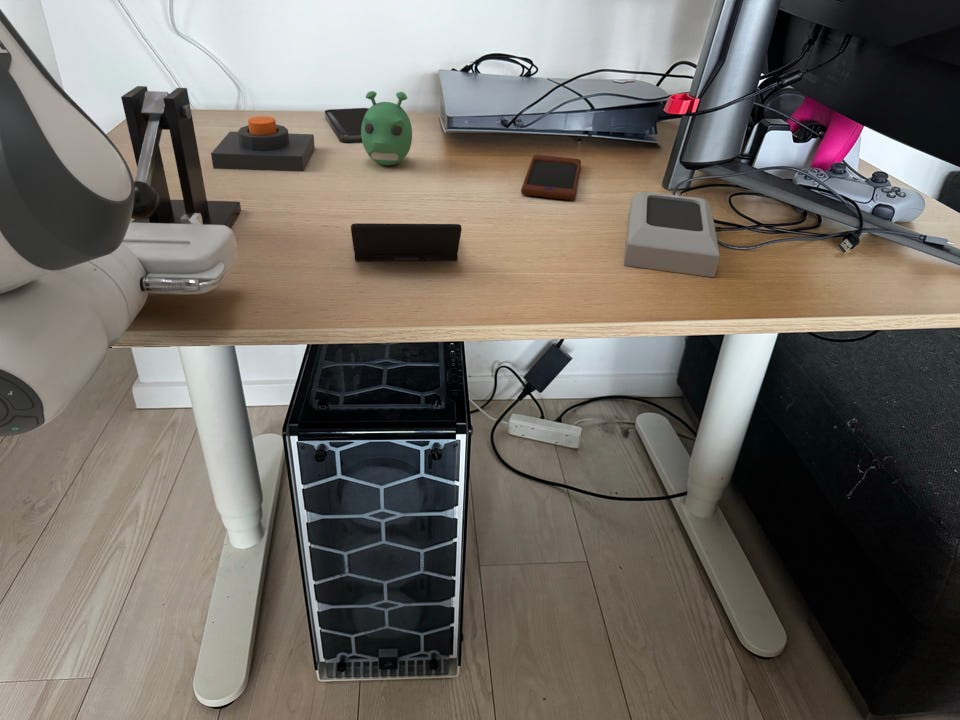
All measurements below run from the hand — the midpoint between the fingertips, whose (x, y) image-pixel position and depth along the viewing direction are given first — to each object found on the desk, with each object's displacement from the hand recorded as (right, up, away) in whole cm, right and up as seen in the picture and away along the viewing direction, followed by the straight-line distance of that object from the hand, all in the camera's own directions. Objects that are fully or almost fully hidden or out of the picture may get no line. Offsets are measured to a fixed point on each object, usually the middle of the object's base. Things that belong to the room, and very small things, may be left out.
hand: (145, 218), depth 69 cm
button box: (+3, +15, +31) cm, 34 cm away
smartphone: (+43, +11, +29) cm, 53 cm away
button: (+3, +18, +29) cm, 34 cm away
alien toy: (+19, +14, +31) cm, 39 cm away
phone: (+13, +23, +45) cm, 52 cm away
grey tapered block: (+54, 0, +13) cm, 56 cm away
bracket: (0, +1, +10) cm, 10 cm away
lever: (0, +5, +2) cm, 6 cm away
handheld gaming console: (+25, -3, +7) cm, 26 cm away
